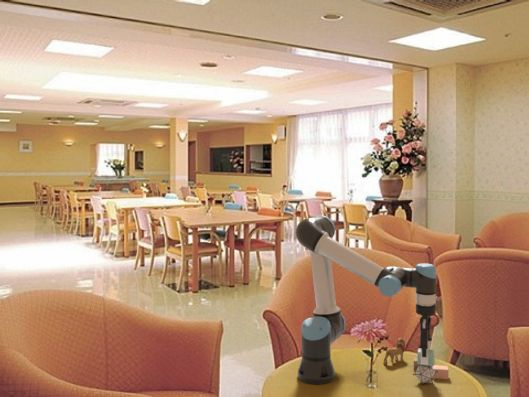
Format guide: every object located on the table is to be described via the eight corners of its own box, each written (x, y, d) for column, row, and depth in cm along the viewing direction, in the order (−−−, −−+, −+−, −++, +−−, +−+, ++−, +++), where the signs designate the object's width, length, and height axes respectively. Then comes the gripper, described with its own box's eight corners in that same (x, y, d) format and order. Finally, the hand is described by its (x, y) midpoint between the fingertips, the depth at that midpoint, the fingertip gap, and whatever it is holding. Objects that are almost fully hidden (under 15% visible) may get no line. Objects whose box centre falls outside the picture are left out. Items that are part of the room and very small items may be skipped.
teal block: (417, 364, 207) (417, 351, 206) (418, 360, 211) (418, 348, 210) (433, 366, 205) (433, 353, 204) (434, 362, 208) (434, 350, 208)
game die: (429, 393, 207) (439, 380, 201) (408, 384, 208) (418, 371, 202) (432, 374, 214) (441, 361, 207) (411, 366, 215) (420, 352, 209)
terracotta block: (432, 378, 212) (432, 368, 212) (431, 374, 216) (432, 364, 216) (448, 379, 211) (448, 369, 211) (447, 375, 215) (447, 365, 215)
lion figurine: (397, 355, 237) (397, 335, 236) (408, 358, 233) (408, 338, 233) (380, 365, 226) (380, 345, 225) (391, 368, 223) (391, 347, 222)
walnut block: (413, 370, 221) (413, 360, 221) (414, 365, 226) (415, 356, 225) (433, 372, 218) (433, 363, 218) (434, 368, 223) (434, 358, 222)
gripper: (433, 311, 195) (433, 371, 197) (437, 297, 213) (437, 352, 215) (412, 309, 198) (412, 369, 200) (418, 296, 216) (418, 350, 218)
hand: (425, 360), depth 208 cm, fingers open, 7 cm apart
